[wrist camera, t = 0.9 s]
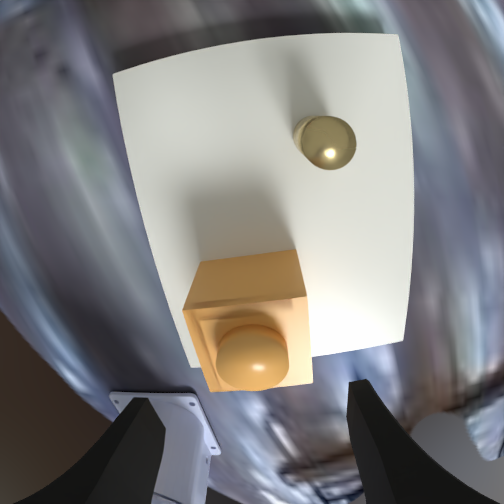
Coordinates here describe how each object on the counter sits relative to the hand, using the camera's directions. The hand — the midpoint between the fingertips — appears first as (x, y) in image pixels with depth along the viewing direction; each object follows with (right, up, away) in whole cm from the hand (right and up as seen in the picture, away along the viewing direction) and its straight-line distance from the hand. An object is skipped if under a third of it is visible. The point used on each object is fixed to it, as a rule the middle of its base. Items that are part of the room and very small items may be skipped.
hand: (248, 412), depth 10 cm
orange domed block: (0, +3, +7) cm, 8 cm away
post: (+3, +11, +4) cm, 12 cm away
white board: (+2, +8, +7) cm, 10 cm away
